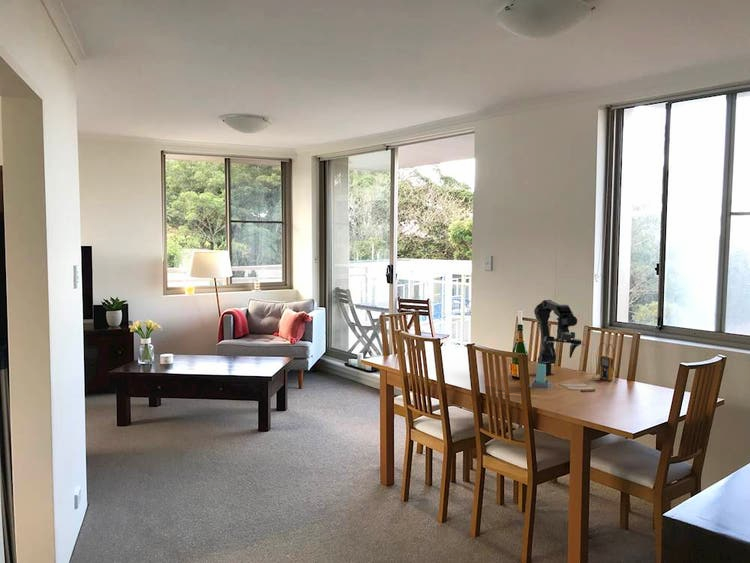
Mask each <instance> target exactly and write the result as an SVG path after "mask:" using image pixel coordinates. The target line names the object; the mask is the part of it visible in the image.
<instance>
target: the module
mask: <svg viewBox="0 0 750 563" xmlns="http://www.w3.org/2000/svg"><path fill="white" fill-rule="evenodd" d="M546 377H547V375H546V364H539V363H538V362H537V363H536V365H535V379H536V383H544V384H546V380H547V378H546Z"/></svg>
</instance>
